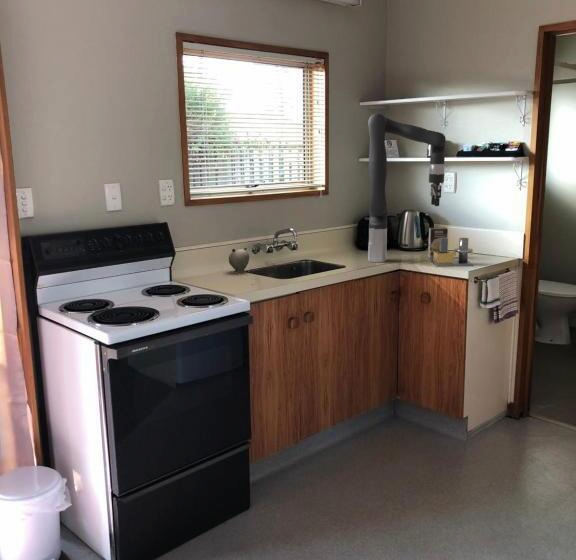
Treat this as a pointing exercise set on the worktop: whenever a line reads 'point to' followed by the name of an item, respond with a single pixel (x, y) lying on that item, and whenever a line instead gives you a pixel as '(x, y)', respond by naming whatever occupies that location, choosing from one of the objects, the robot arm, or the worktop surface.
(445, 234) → the coffee box
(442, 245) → the grey square beam
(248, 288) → the worktop surface
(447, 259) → the rosette stand
